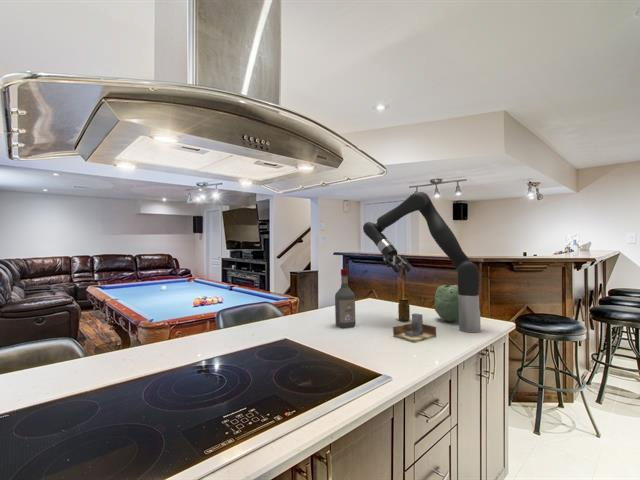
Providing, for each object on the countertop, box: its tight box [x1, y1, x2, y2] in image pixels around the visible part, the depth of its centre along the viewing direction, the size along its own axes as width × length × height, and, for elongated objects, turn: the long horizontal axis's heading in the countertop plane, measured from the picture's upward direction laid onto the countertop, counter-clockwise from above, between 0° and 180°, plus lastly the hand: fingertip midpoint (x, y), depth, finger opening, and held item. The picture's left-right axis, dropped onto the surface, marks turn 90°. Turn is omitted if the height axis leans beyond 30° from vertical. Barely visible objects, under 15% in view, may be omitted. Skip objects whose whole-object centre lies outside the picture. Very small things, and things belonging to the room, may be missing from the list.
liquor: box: [334, 268, 356, 329], centre depth 171 cm, size 9×9×30 cm
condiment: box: [395, 297, 412, 323], centre depth 180 cm, size 7×8×12 cm
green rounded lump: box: [433, 284, 459, 322], centre depth 177 cm, size 16×19×20 cm
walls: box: [392, 322, 437, 336], centre depth 148 cm, size 15×12×4 cm
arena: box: [392, 332, 437, 344], centre depth 148 cm, size 15×12×1 cm
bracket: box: [405, 313, 424, 337], centre depth 148 cm, size 8×4×9 cm, turn 122°
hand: (403, 271), depth 166 cm, fingers open, 8 cm apart
